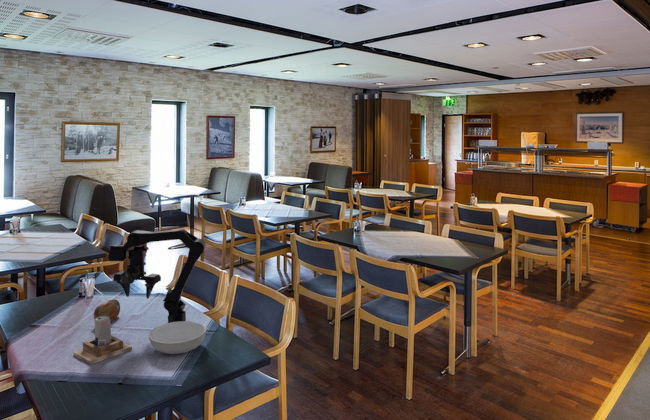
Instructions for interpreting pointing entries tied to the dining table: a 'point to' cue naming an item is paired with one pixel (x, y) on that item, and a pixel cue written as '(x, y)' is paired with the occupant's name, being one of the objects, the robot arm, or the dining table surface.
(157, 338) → the serving bowl
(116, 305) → the tin
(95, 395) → the dining table surface
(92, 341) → the wooden tray
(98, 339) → the energy drink
